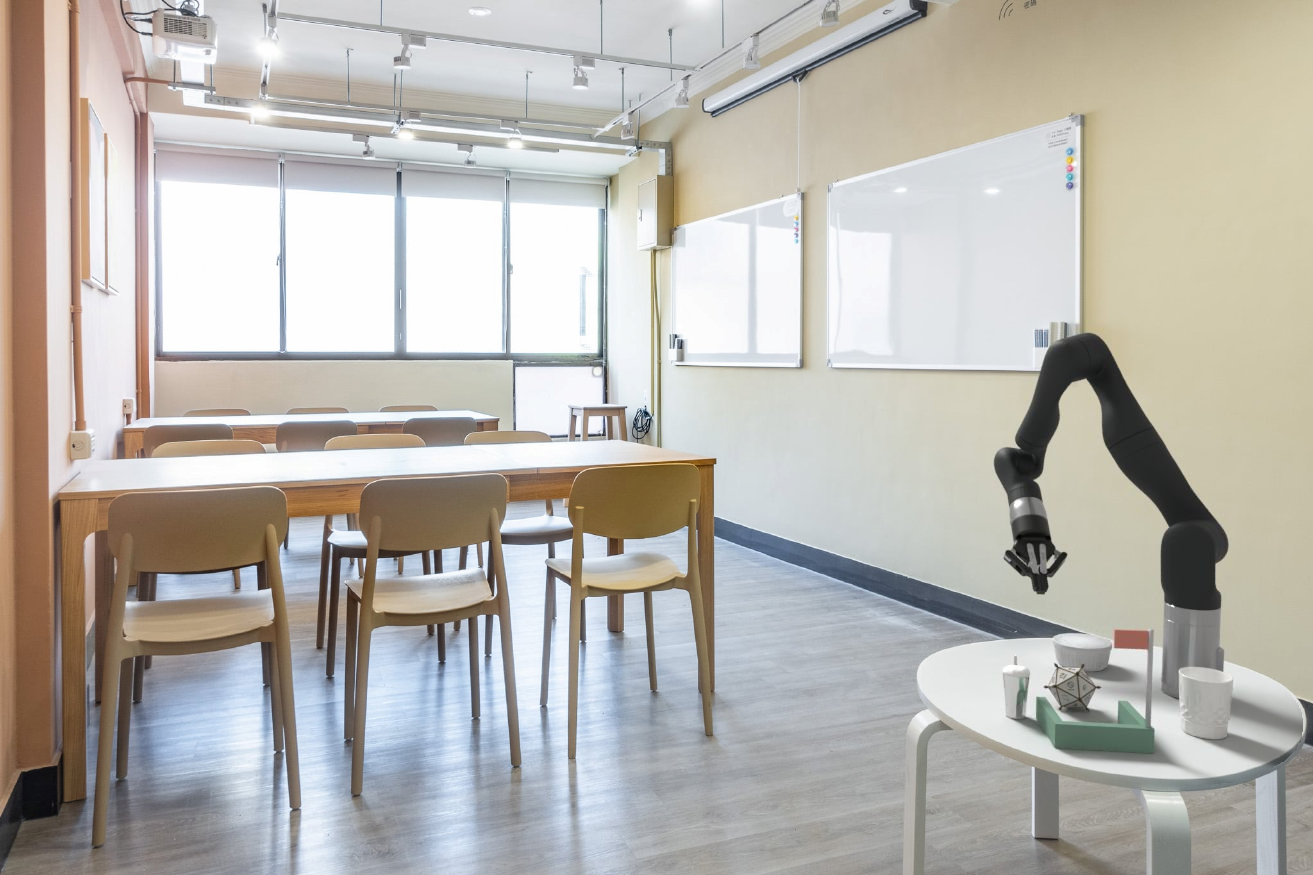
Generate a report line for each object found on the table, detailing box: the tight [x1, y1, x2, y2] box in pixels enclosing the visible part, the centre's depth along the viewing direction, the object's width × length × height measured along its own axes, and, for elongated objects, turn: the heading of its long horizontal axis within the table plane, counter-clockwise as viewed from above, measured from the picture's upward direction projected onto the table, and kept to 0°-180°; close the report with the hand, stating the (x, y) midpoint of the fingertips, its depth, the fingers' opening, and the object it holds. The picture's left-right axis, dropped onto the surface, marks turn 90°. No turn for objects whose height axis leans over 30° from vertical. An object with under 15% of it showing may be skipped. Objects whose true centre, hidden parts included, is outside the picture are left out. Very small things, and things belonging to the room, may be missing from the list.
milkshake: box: [1002, 655, 1031, 720], centre depth 160 cm, size 4×5×10 cm
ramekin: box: [1051, 632, 1113, 673], centre depth 187 cm, size 11×11×5 cm
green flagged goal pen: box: [1035, 628, 1156, 755], centre depth 150 cm, size 15×12×20 cm
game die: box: [1043, 662, 1102, 712], centre depth 163 cm, size 9×8×10 cm
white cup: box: [1178, 667, 1234, 740], centre depth 152 cm, size 8×8×10 cm
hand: (1041, 592), depth 184 cm, fingers closed
